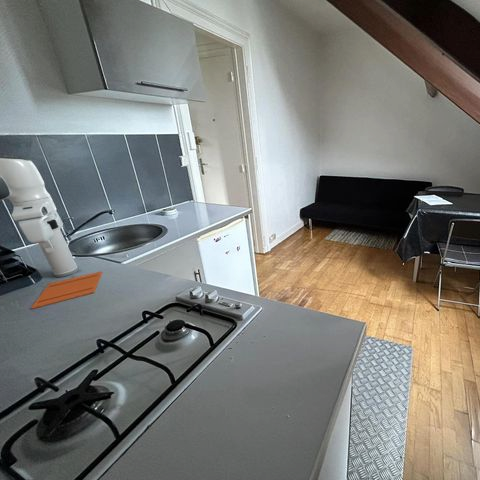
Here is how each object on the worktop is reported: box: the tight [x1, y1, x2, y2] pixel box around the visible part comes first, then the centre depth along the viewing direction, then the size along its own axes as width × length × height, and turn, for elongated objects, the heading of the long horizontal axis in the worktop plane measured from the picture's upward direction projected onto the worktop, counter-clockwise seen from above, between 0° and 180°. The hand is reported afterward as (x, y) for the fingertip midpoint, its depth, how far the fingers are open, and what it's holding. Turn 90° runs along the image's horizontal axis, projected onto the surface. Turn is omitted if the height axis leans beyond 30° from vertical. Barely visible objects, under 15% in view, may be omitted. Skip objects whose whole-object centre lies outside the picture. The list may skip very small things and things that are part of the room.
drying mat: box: [30, 270, 103, 310], centre depth 82 cm, size 14×16×1 cm
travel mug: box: [38, 220, 79, 278], centre depth 89 cm, size 6×7×20 cm
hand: (55, 247), depth 89 cm, fingers open, 8 cm apart
